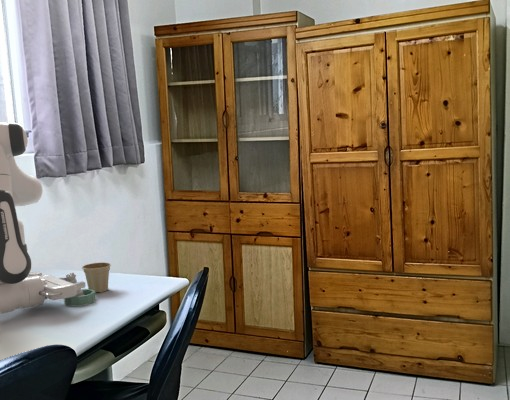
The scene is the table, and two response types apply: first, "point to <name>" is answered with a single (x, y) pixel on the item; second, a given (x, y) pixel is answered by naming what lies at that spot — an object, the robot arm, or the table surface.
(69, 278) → the rook chess piece
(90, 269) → the flower pot
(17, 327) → the table surface
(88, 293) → the bowl
